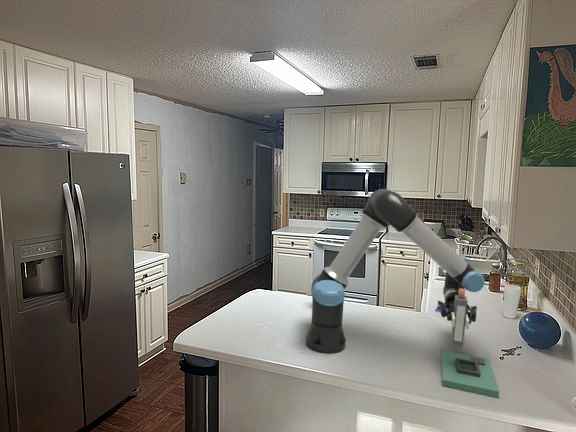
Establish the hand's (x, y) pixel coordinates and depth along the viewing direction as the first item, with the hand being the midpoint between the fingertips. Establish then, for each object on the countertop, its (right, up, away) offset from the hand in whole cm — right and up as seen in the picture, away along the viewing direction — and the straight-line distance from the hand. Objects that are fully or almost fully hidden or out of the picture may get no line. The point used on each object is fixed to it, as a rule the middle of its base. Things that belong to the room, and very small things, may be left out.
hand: (460, 323), depth 128 cm
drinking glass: (+49, -13, +59) cm, 78 cm away
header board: (+4, -18, +4) cm, 19 cm away
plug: (+1, -8, +6) cm, 11 cm away
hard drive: (+22, -12, +62) cm, 67 cm away
